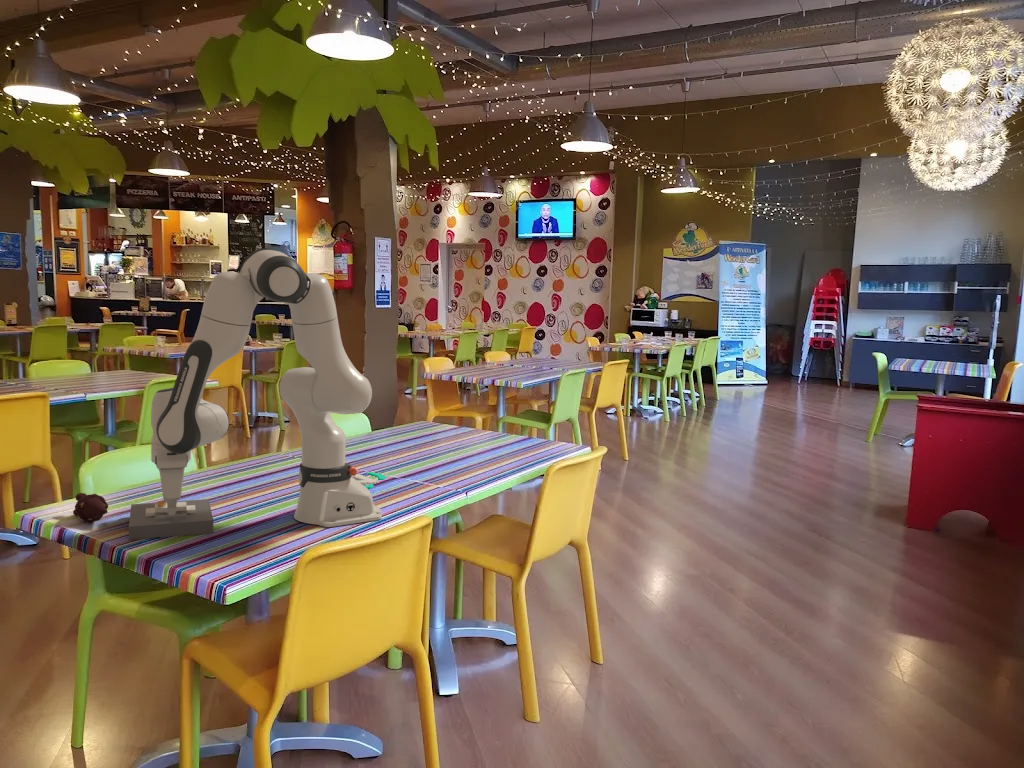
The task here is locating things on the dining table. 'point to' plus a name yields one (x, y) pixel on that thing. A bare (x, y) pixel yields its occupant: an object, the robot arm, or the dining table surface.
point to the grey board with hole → (170, 521)
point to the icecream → (90, 507)
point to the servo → (162, 509)
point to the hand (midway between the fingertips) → (171, 508)
